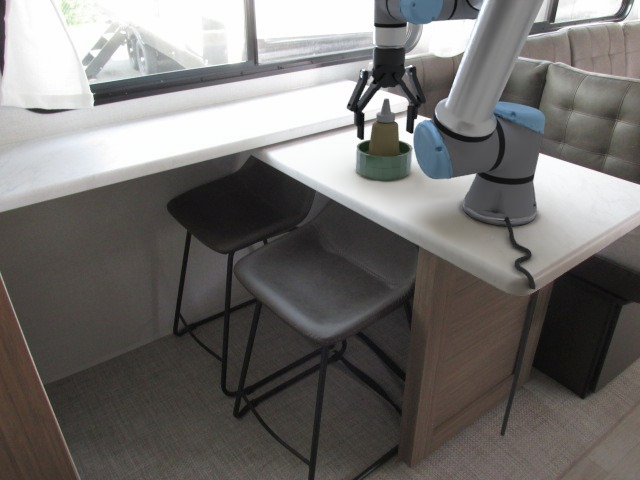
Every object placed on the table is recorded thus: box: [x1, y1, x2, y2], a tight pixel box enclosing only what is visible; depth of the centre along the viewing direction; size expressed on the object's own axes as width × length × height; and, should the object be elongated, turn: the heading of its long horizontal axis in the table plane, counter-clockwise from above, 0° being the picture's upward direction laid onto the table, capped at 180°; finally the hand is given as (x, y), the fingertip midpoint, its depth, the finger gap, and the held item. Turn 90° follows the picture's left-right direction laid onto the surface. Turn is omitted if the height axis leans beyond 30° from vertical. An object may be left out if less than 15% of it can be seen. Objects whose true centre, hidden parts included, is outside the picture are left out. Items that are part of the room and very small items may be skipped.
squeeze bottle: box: [368, 98, 400, 157], centre depth 129 cm, size 8×8×18 cm
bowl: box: [355, 139, 414, 182], centre depth 132 cm, size 14×14×6 cm
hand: (385, 135), depth 129 cm, fingers open, 13 cm apart
